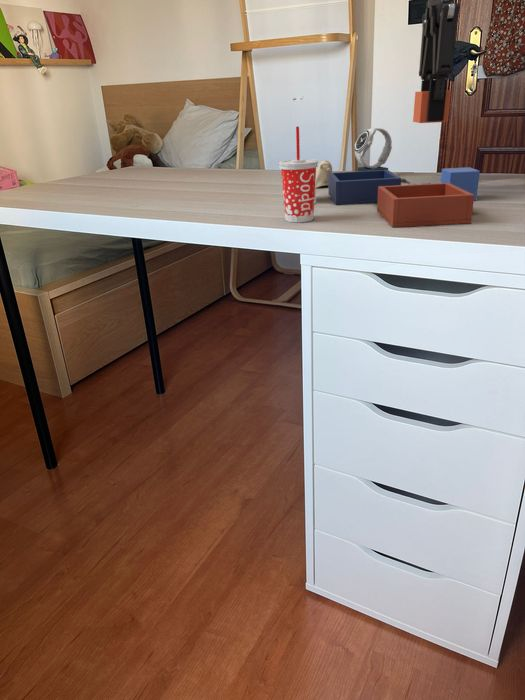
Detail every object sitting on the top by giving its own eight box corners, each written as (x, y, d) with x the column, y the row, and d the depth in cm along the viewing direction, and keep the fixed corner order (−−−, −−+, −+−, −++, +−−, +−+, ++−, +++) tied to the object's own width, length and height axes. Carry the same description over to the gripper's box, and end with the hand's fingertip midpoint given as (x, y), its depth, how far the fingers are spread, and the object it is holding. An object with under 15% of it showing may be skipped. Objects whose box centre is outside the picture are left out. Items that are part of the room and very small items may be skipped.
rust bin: (446, 207, 88) (448, 182, 86) (471, 223, 78) (474, 194, 76) (376, 211, 88) (378, 186, 87) (392, 227, 78) (393, 199, 76)
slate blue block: (466, 195, 97) (469, 167, 94) (476, 200, 92) (480, 170, 90) (439, 197, 97) (441, 168, 95) (447, 202, 92) (450, 172, 90)
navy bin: (386, 190, 105) (387, 169, 104) (400, 201, 95) (401, 178, 93) (328, 194, 106) (328, 172, 104) (335, 205, 95) (335, 181, 93)
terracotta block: (440, 120, 97) (443, 90, 95) (448, 121, 93) (451, 90, 91) (412, 121, 98) (415, 91, 95) (419, 123, 93) (422, 91, 91)
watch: (349, 182, 117) (350, 129, 112) (381, 179, 119) (383, 126, 114) (361, 186, 112) (363, 130, 107) (394, 182, 114) (397, 127, 109)
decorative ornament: (331, 182, 118) (331, 157, 116) (333, 188, 111) (333, 162, 108) (313, 183, 119) (313, 158, 116) (313, 189, 111) (313, 163, 109)
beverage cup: (284, 224, 83) (281, 129, 77) (277, 217, 88) (273, 127, 82) (322, 221, 84) (322, 126, 78) (312, 214, 89) (312, 124, 83)
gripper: (408, -25, 93) (399, 118, 103) (436, -49, 77) (422, 123, 87) (450, -27, 93) (437, 117, 103) (488, -52, 77) (468, 121, 87)
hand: (430, 119), depth 95 cm, fingers closed on terracotta block, 5 cm apart
